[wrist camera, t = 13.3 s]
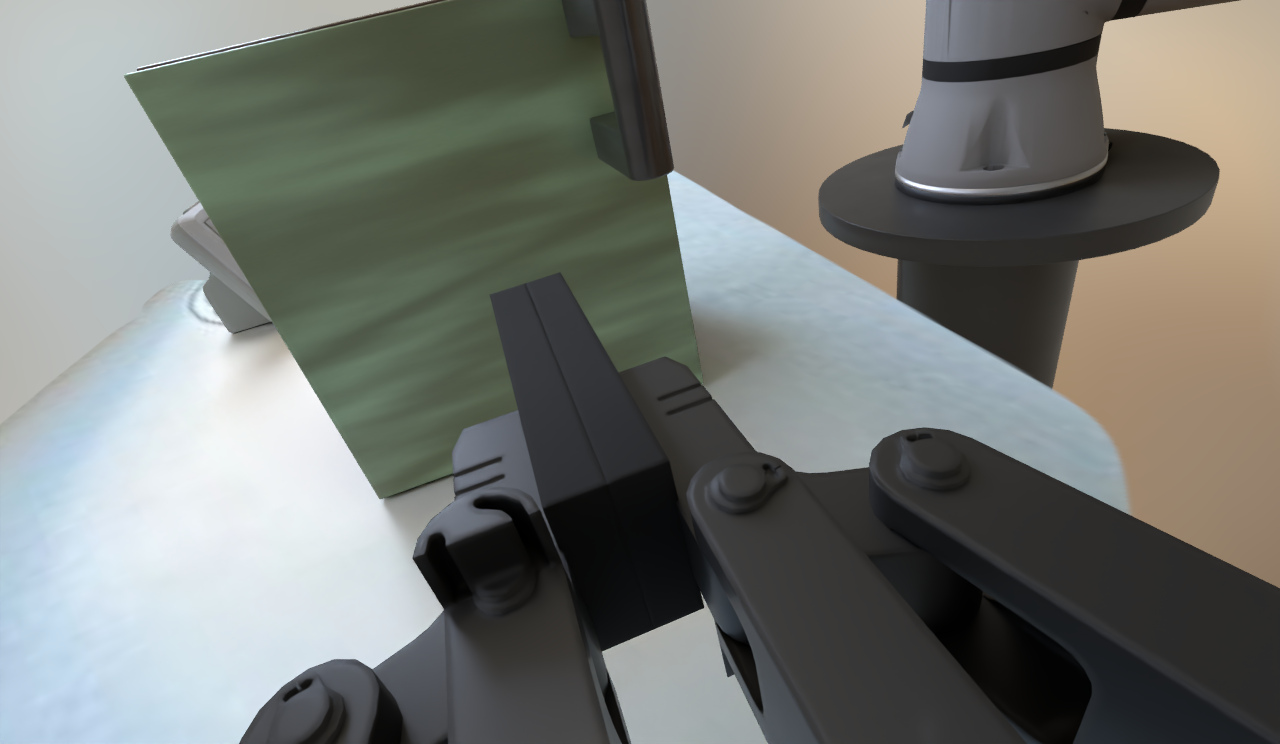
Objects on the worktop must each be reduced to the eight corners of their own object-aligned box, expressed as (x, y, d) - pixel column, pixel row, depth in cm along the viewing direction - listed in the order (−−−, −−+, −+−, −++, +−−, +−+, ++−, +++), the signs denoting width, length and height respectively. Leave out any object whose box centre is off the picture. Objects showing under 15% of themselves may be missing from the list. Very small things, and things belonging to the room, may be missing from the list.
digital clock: (298, 329, 50) (227, 207, 44) (194, 355, 50) (109, 236, 44) (351, 262, 64) (302, 162, 58) (270, 282, 64) (213, 184, 58)
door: (750, 439, 27) (683, -66, 17) (371, 584, 24) (26, 83, 14) (696, 374, 32) (621, -39, 22) (380, 487, 29) (134, 73, 19)
